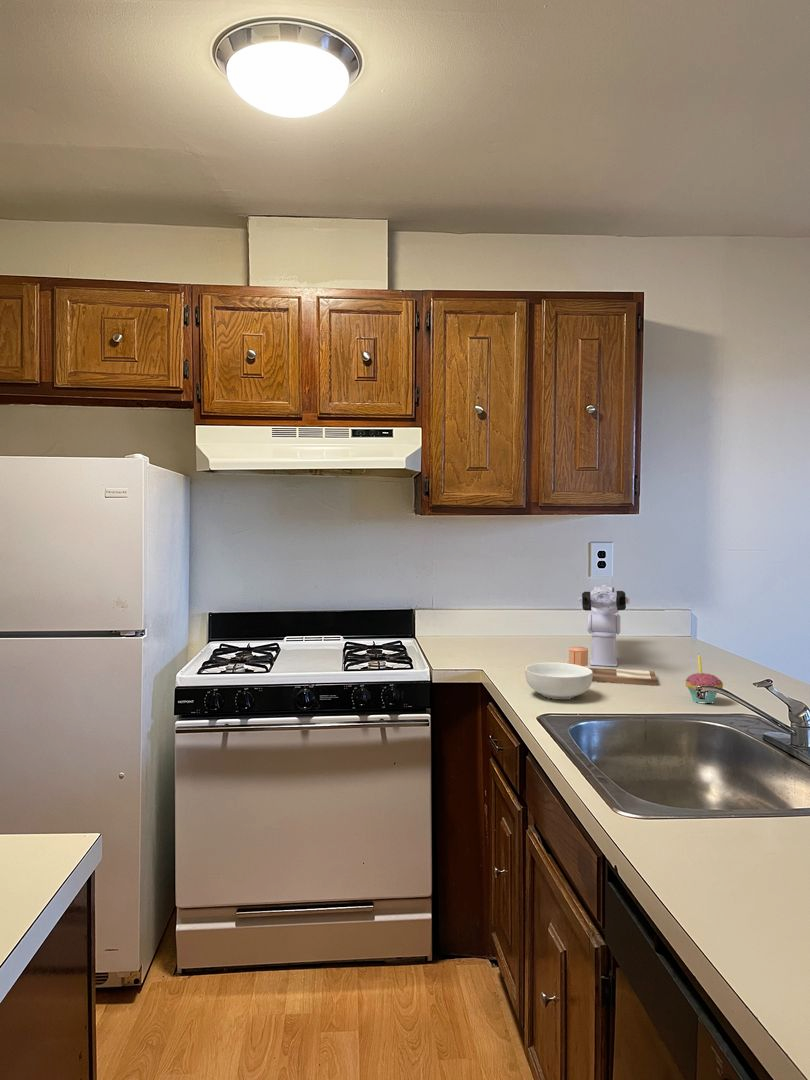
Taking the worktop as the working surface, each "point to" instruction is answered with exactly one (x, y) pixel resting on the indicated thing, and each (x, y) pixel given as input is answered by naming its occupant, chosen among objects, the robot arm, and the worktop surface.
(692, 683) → the cupcake
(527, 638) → the worktop surface
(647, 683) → the board
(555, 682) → the cereal bowl
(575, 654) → the cap
